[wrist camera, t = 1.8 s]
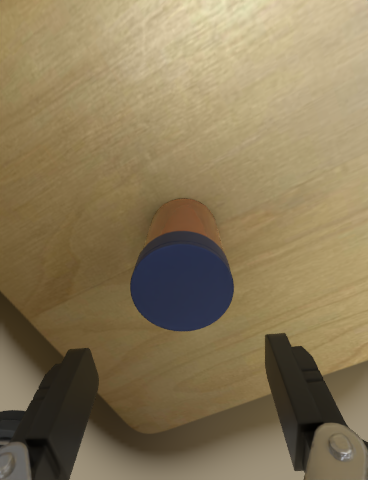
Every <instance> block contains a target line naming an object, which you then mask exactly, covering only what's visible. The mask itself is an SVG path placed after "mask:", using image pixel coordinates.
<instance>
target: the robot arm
mask: <svg viewBox="0 0 368 480" xmlns="http://www.w3.org/2000/svg"><path fill="white" fill-rule="evenodd" d="M265 367H266V374H267V378H268V382H269V385H270V389H271V392H272V395H273V399H274V402H275V406H276V409H277V412H278V416H279V419H280V423H281V426H282V430H283V433H284V437H285V440H286V443H287V447H288V450H289V454H290V457H291V460H292V463H293V467H294V470H295V471H304V472H305V476H304V480H368V442H366V441H364V440H362V439H361V438H360V437H359V436H358V435H357V434H356V433H355V432H354V431H353V430H351V429H350V428H349V427H348V426H347V425H346V423H345V421H344V419H343V417H342V415H341V413H340V411H339V409H338V407H337V406H336V403H335V401H334V399H333V397H332V395H331V393H330V391H329V389H328V387H327V385H326V383H325V381H324V380H323V377H322V375H321V373H320V371H319V370H318V367H317V365H316V363H315V361H314V359H313V357H312V356H311V355H310V354H309V353H308V352H307V351H306V350H305V349H304V348H303V347H302V346H295V347H291V345H290V342H289V340H288V338H287V336H286V334H285V333H279V334H267V335H265ZM98 384H99V378H98V373H97V369H96V366H95V363H94V360H93V357H92V354H91V351H90V349H89V348H80V349H70V350H68V352H67V353H66V355H65V357H64V359H63V361H62V363H61V364H55V365H54V366H53V367H52V368H51V370H50V371H49V372H48V373H47V374H46V375H45V376H44V378H43V380H42V382H41V384H40V386H39V389H38V390H37V392H36V393H35V395H34V397H33V400H32V401H31V403H30V405H29V406H28V408H27V410H26V412H25V414H24V416H23V418H22V420H21V421H20V423H19V425H18V427H17V429H16V431H15V433H14V435H13V437H12V438H0V480H69V479H70V475H71V472H72V469H73V466H74V463H75V460H76V456H77V453H78V450H79V447H80V444H81V441H82V438H83V435H84V431H85V428H86V425H87V422H88V419H89V415H90V413H91V409H92V406H93V403H94V400H95V397H96V394H97V390H98Z"/></svg>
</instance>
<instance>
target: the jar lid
mask: <svg viewBox="0 0 368 480" xmlns="http://www.w3.org/2000/svg"><path fill="white" fill-rule="evenodd" d="M130 290H131V296H132V299H133V302H134V304H135V306H136V308H137V309H138V311H139V312H140V313H141V314H142V315H143V316H144V317H145V318H146V319H147V320H148V321H150V322H151V323H153V324H155V325H157V326H159V327H161V328H164V329H168V330H173V331H193V330H197V329H201V328H204V327H206V326H208V325H210V324H212V323H213V322H215V321H216V320H218V319H219V318H220V317H221V316H222V315H223V314H224V313H225V311H226V310H227V309H228V307H229V305H230V303H231V300H232V297H233V292H234V284H233V278H232V275H231V271H230V267H229V264H228V260H227V258H226V255H225V254H224V252H223V251H222V249H221V248H220V247H219V246H218V245H217V244H216V243H215V242H214V241H213V240H211V239H210V238H208V237H206V236H204V235H202V234H199V233H195V232H191V231H174V232H169V233H166V234H163V235H160V236H158V237H157V238H155V239H153V240H152V241H151V242H149V243H148V244H147V245H146V246H145V247H144V249H143V250H142V251H141V253H140V255H139V257H138V260H137V263H136V266H135V269H134V272H133V275H132V278H131V283H130Z"/></svg>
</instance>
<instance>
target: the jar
mask: <svg viewBox="0 0 368 480" xmlns="http://www.w3.org/2000/svg"><path fill="white" fill-rule="evenodd" d="M174 231H191V232H195V233H199V234H202V235H204V236H206V237H208V238H210V239H211V240H213V241H214V242H215V243H216V244H217V245H218V246H219V247H220V248H221V249H222V251H223V248H222V244H221V240H220V236H219V232H218V228H217V224H216V221H215V218H214V216H213V214H212V213H211V211H210V210H209V209H208V208H207V207H206V206H205V205H203V204H202V203H200V202H198V201H195V200H192V199H185V198H184V199H175V200H172V201H169V202H167V203H166V204H164V205H163V206H161V207H160V208H159V209H158V210H157V212H156V213H155V215H154V217H153V219H152V222H151V225H150V228H149V231H148V234H147V237H146V241H145V244H144V247H145V246H146V245H147V244H148V243H149V242H151V241H152V240H153V239H155V238H157V237H158V236H160V235H163V234H166V233H169V232H174ZM144 247H143V249H144Z"/></svg>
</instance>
